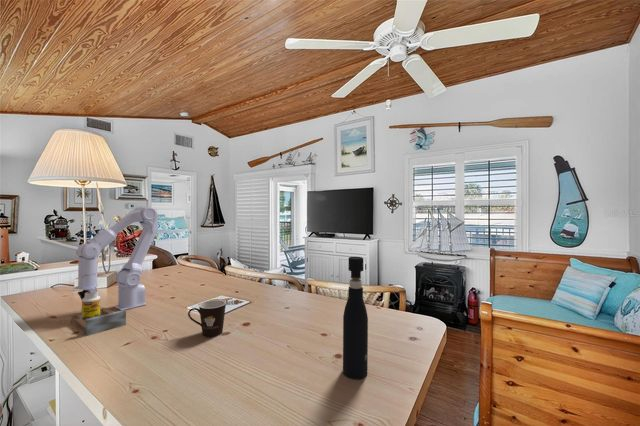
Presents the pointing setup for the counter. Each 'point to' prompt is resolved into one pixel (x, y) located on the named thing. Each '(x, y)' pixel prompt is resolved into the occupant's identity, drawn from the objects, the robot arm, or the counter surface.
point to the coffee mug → (211, 317)
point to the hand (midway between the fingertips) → (87, 308)
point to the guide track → (100, 322)
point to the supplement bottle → (90, 305)
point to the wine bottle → (355, 325)
